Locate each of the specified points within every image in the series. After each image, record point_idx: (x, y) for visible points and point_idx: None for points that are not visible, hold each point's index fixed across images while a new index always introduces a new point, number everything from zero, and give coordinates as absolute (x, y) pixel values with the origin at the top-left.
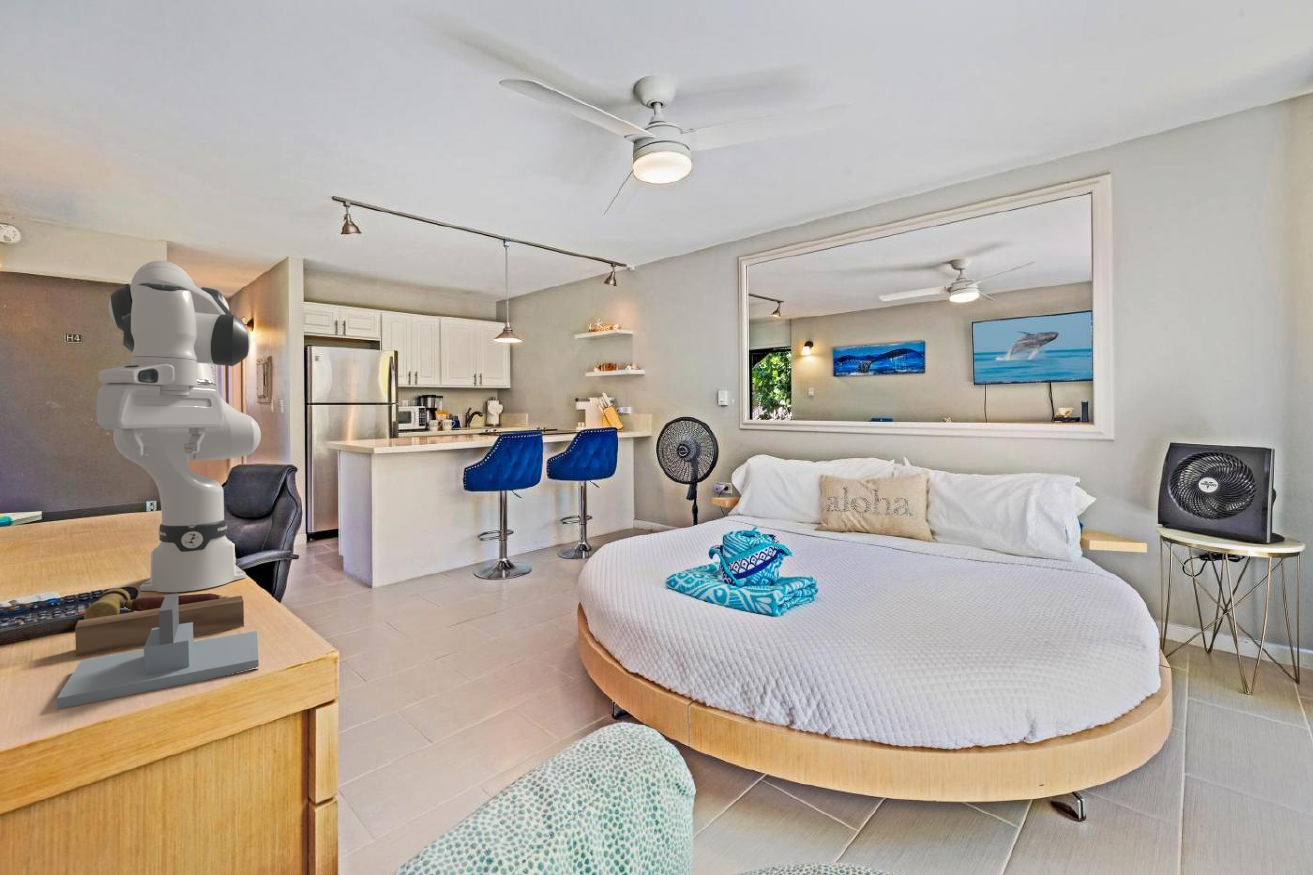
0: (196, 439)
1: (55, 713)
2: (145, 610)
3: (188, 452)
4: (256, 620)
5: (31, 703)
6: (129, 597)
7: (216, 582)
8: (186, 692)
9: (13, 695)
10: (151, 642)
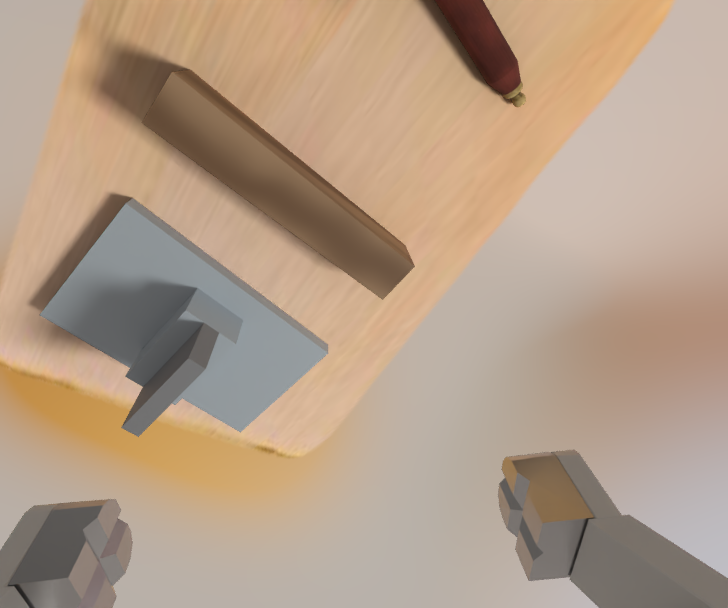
0: (617, 605)
1: None
2: (277, 159)
3: (506, 482)
4: None
5: (35, 254)
6: None
7: None
8: None
9: (29, 196)
10: (143, 367)
